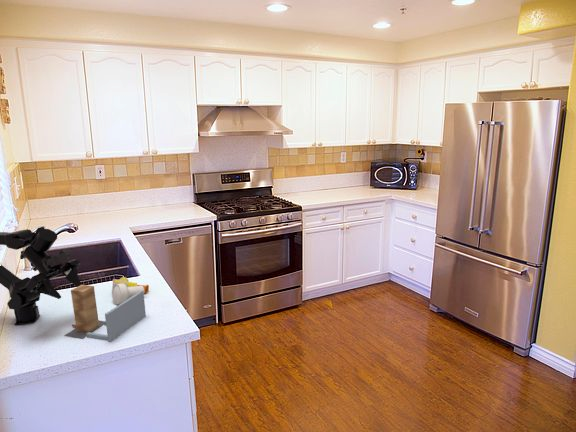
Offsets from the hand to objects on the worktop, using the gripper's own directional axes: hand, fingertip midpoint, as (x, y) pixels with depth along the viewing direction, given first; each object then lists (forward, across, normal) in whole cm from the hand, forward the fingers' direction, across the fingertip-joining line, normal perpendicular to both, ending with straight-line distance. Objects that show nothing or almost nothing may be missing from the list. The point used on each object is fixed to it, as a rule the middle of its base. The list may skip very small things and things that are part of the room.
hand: (70, 292), depth 142 cm
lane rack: (+19, +4, 0) cm, 20 cm away
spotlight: (+12, +24, +7) cm, 28 cm away
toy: (+9, +33, +11) cm, 36 cm away
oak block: (+11, 0, +7) cm, 13 cm away
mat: (+13, 0, +6) cm, 14 cm away
